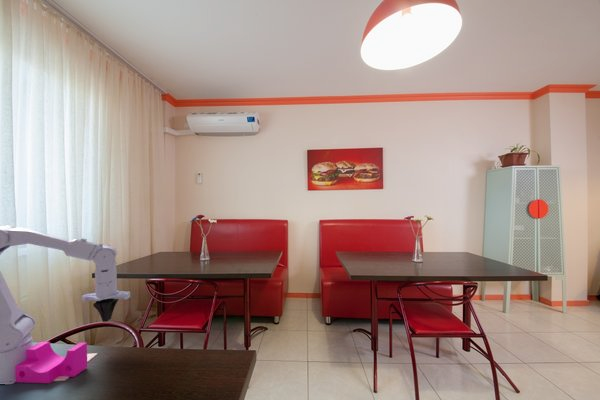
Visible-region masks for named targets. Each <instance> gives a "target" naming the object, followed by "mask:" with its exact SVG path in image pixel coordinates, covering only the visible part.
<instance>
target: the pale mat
mask: <svg viewBox="0 0 600 400" xmlns="http://www.w3.org/2000/svg"><path fill="white" fill-rule="evenodd" d="M98 354H99V353H98V352H96V353H95V352H94V353H87V363H89V362H90V361H91V360H92V359H94V358H96V357H97V355H98ZM69 378H70V377H65V376H59V377H58V378H56V379H55V380H53V381H52V382H61V381H66V380H68V379H69Z"/></svg>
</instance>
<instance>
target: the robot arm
mask: <svg viewBox="0 0 600 400" xmlns="http://www.w3.org/2000/svg"><path fill="white" fill-rule="evenodd" d="M21 245H22V246H23V245H34V246H39V247H44V248H50V249H54V250H58V251H63V253H64V254H65V255H66V256H68V257H71V258H76V259H80V260H86V261H90V262H91V261H92V262H93V263H94V264H95V270H94V291H95V292H93V293H86V294H83V295H81V302H83V303H84V302H87V301H89V302H90V301H94V303H93V307H94V308H95V309H96V310H97V312H98V314H99V315H100V318H101V320H102V322H103V323H104V322H109V321H110V320H112V316H113V312H114V310H115V307H116V305H117V303H118V301H119V300H128V299H129V298H131V291H122V290H118V284H117V283H118V281H117V280H118V278H117V277H118V276H117V275H118V274H117V261H116V259H117V258H116V257H117V254H118V251H117V249H116V248H115V247H114V246H111V245H110V244H106V245H104V243H101V242H100V243H96V242H91V241H88V239H87V238H84V237H81V238H75V239H72V240H67V239H64V238H61V237H59V236H54V235H50V234H47V233H43V232H40V231H37V230H33V229H29V228H25V227H20V226H19V227H16V226H14V225H11V224H10V225H9V224H8V225H7V224H6V225H0V256H1V255H2V254H3V253H4V252H5V250H7V249H9V248H10V247H14V246H21ZM35 326H36V319H35V318H34V317H33V316H30V315H29V314H27V312H26V310H25V309H23V308H21V307H19V306H18V304H17V302H16V300H15V298H14V295H13V294H12V292H11V290H10V288H9V286H8V283H7V282H6V280H5V278H4V276H3V274H2V272H1V271H0V384H5V385H13V384H15V383H16V382H15V366H16V365H18V364H20V363H22V362H23V361H25V360H26V349H28V348H30V347H32V346H34V343H33V342H34V339H33V338H34V337H33V335H32V334H31V332H32V330H34V328H35Z"/></svg>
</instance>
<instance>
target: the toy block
mask: <svg viewBox="0 0 600 400" xmlns="http://www.w3.org/2000/svg"><path fill="white" fill-rule="evenodd" d="M87 354H88V342H79V343H78V344H76V345H74V346H72V347H71V348H69V349H67V351H66V355H65V356H62V355H59V354H57V353H56V352H55V351H54V349H53V348H52V345H51V342H50V341H40V342H38V343H36V344H33V346H32V347H30V348H28V349H26V360H25V361H23V362H22V363H20V364H18V365H16V366H15V383H29V384H30V383H31V384H33V383H35V384H51V383H52V382H54V381H53V380H55V379H56V378H58V377H59V376H65V377H69V378H70V377H72V378H75V377H76V376H77V375H79V374H80V373H81V372H83V371H84V370H86V369H87V368H88V362H87Z"/></svg>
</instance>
